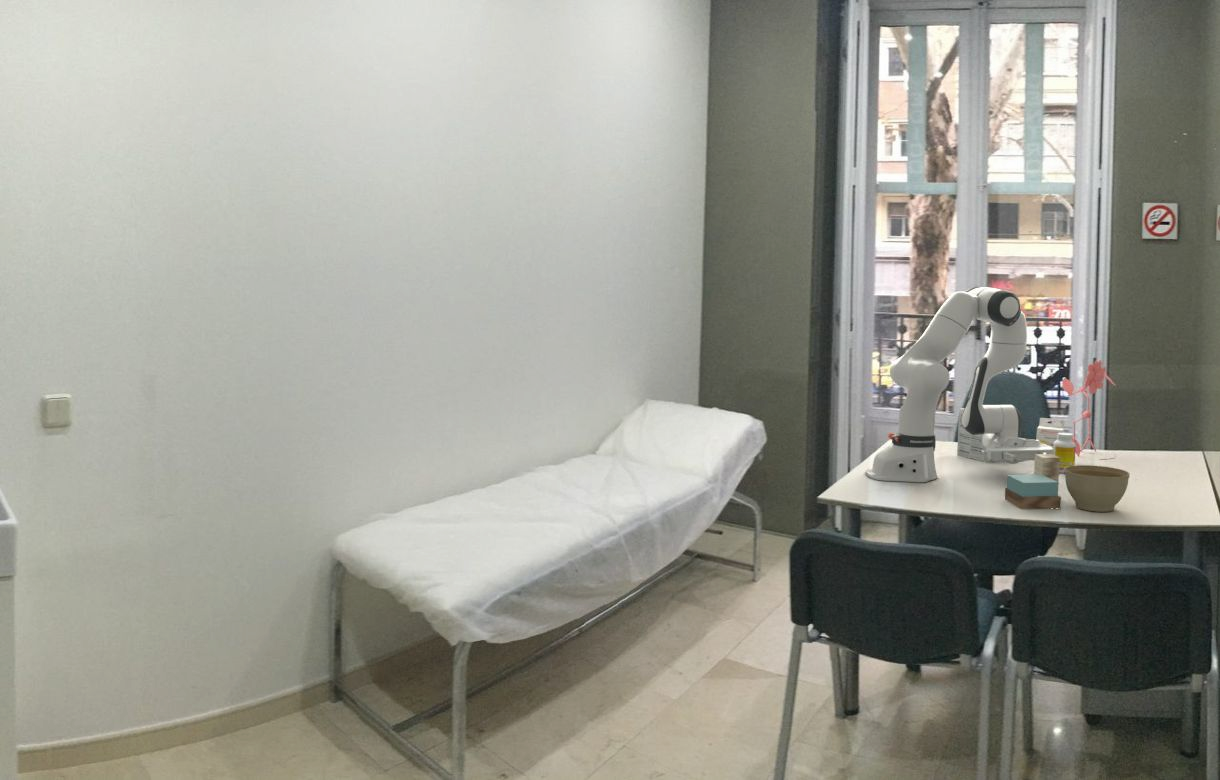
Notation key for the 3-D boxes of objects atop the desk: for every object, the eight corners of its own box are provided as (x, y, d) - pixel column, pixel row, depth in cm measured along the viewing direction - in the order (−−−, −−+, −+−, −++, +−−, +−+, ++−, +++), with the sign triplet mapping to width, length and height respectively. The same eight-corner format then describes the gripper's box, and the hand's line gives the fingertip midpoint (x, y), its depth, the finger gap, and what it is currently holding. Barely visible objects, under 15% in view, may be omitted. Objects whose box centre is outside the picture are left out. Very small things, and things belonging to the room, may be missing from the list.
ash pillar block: (1040, 497, 264) (1042, 457, 262) (1032, 493, 269) (1035, 454, 267) (1057, 497, 264) (1059, 457, 262) (1049, 493, 269) (1052, 454, 267)
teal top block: (1022, 496, 250) (1023, 482, 250) (1006, 488, 260) (1006, 474, 260) (1057, 496, 251) (1058, 482, 250) (1040, 487, 261) (1040, 474, 260)
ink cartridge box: (1034, 459, 317) (1036, 419, 316) (1036, 457, 322) (1038, 417, 320) (1061, 462, 313) (1063, 421, 311) (1062, 460, 317) (1065, 419, 315)
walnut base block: (1020, 510, 251) (1021, 496, 250) (1004, 501, 262) (1005, 487, 261) (1060, 510, 250) (1061, 496, 250) (1042, 501, 261) (1043, 487, 261)
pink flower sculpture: (1049, 455, 325) (1057, 360, 320) (1091, 448, 338) (1099, 357, 333) (1090, 463, 312) (1099, 364, 307) (1132, 456, 325) (1141, 361, 320)
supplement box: (983, 452, 331) (985, 405, 329) (1011, 458, 319) (1014, 410, 317) (956, 455, 326) (958, 408, 324) (984, 462, 314) (986, 413, 312)
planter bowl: (1099, 500, 260) (1102, 463, 259) (1140, 514, 245) (1143, 475, 243) (1049, 502, 258) (1052, 465, 257) (1087, 517, 242) (1090, 478, 241)
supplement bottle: (1076, 474, 294) (1079, 435, 293) (1055, 473, 296) (1057, 435, 294) (1070, 469, 301) (1072, 432, 299) (1049, 469, 302) (1051, 431, 301)
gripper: (979, 440, 291) (996, 448, 277) (1042, 439, 290) (1063, 447, 276) (978, 459, 292) (996, 468, 278) (1042, 458, 291) (1062, 467, 277)
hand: (1030, 458), depth 277 cm, fingers open, 8 cm apart
